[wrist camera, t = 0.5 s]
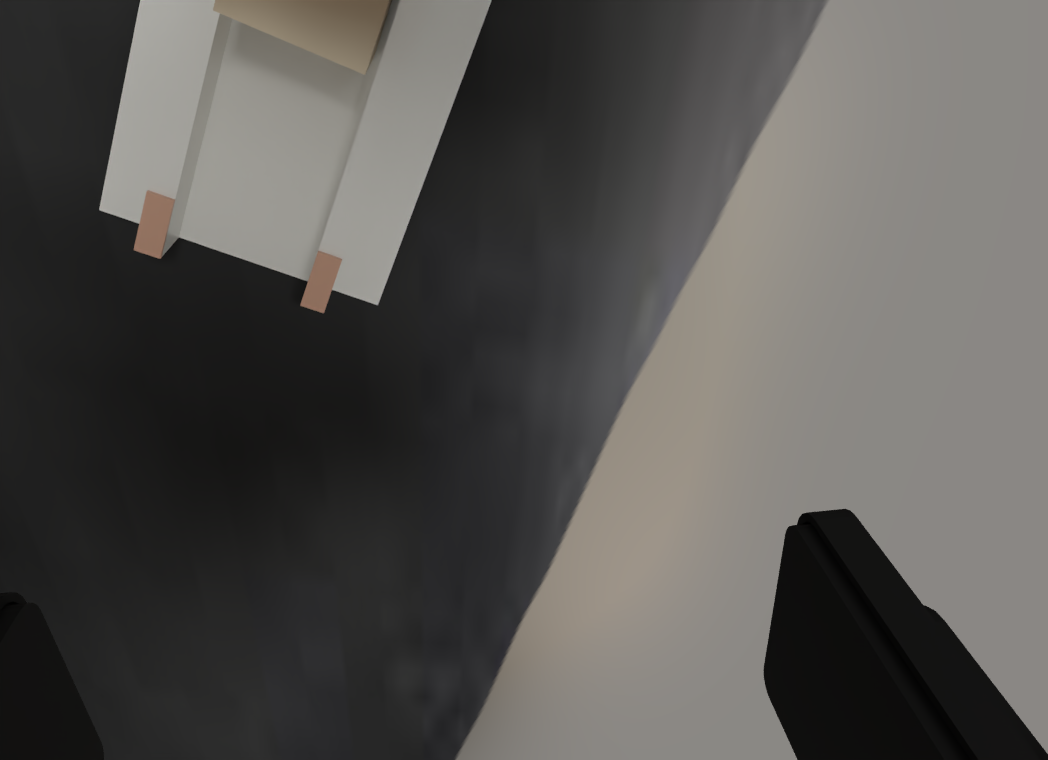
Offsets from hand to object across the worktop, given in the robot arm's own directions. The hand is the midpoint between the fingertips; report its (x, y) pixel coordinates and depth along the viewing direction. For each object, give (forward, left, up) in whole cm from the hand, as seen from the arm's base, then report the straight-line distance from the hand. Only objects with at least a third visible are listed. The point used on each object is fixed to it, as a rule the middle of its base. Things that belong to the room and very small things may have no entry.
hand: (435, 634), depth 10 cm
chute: (-1, -6, -27) cm, 28 cm away
